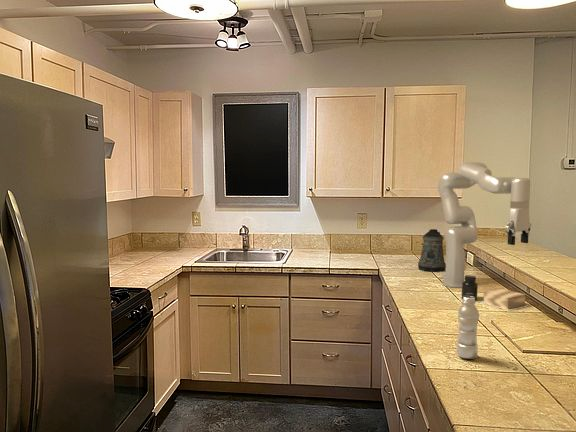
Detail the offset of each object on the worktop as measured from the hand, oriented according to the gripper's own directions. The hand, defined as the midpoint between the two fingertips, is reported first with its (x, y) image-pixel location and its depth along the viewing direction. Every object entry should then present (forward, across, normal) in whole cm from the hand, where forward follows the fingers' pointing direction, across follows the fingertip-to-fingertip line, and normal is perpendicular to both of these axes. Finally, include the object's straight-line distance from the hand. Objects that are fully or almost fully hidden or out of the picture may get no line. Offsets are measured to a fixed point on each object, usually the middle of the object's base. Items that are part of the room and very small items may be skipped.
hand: (517, 243), depth 204 cm
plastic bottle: (+28, +69, +28) cm, 80 cm away
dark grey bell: (+29, -29, -74) cm, 85 cm away
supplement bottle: (+28, +13, -14) cm, 34 cm away
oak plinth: (+27, +6, -1) cm, 28 cm away
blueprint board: (+28, +6, -1) cm, 29 cm away
